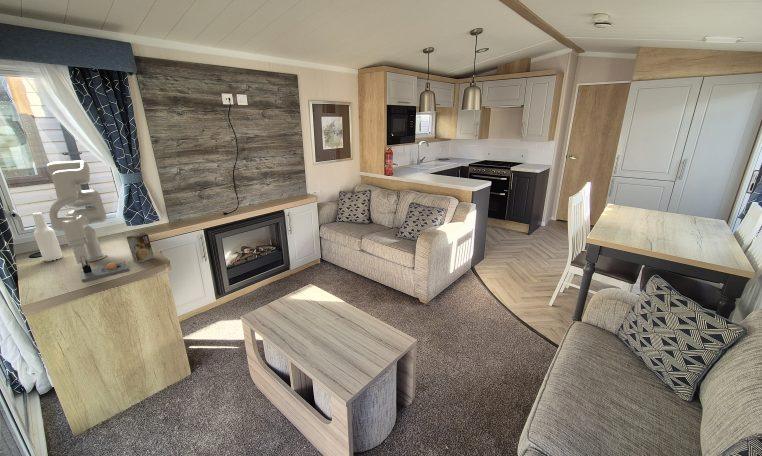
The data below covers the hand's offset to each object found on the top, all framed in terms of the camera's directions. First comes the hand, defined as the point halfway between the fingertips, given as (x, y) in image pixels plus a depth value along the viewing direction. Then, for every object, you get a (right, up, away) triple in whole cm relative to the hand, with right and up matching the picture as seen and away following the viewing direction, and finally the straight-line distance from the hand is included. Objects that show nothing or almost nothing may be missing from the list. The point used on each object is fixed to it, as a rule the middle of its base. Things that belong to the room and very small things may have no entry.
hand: (88, 272), depth 174 cm
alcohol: (-44, +5, +24) cm, 51 cm away
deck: (+5, 0, +5) cm, 7 cm away
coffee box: (+15, +5, +22) cm, 27 cm away
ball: (+7, +3, +7) cm, 10 cm away
